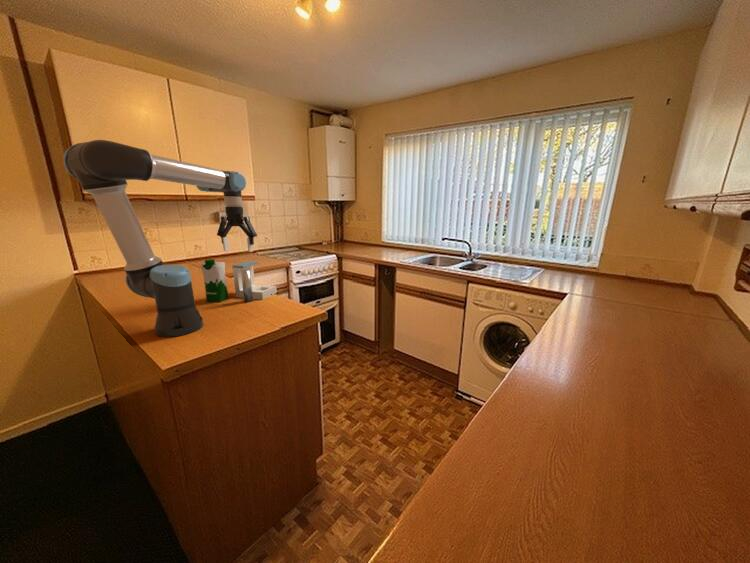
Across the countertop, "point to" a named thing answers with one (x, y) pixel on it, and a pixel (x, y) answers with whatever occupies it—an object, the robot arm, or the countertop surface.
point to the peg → (247, 285)
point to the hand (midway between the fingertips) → (238, 251)
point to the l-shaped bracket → (257, 290)
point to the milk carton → (214, 280)
